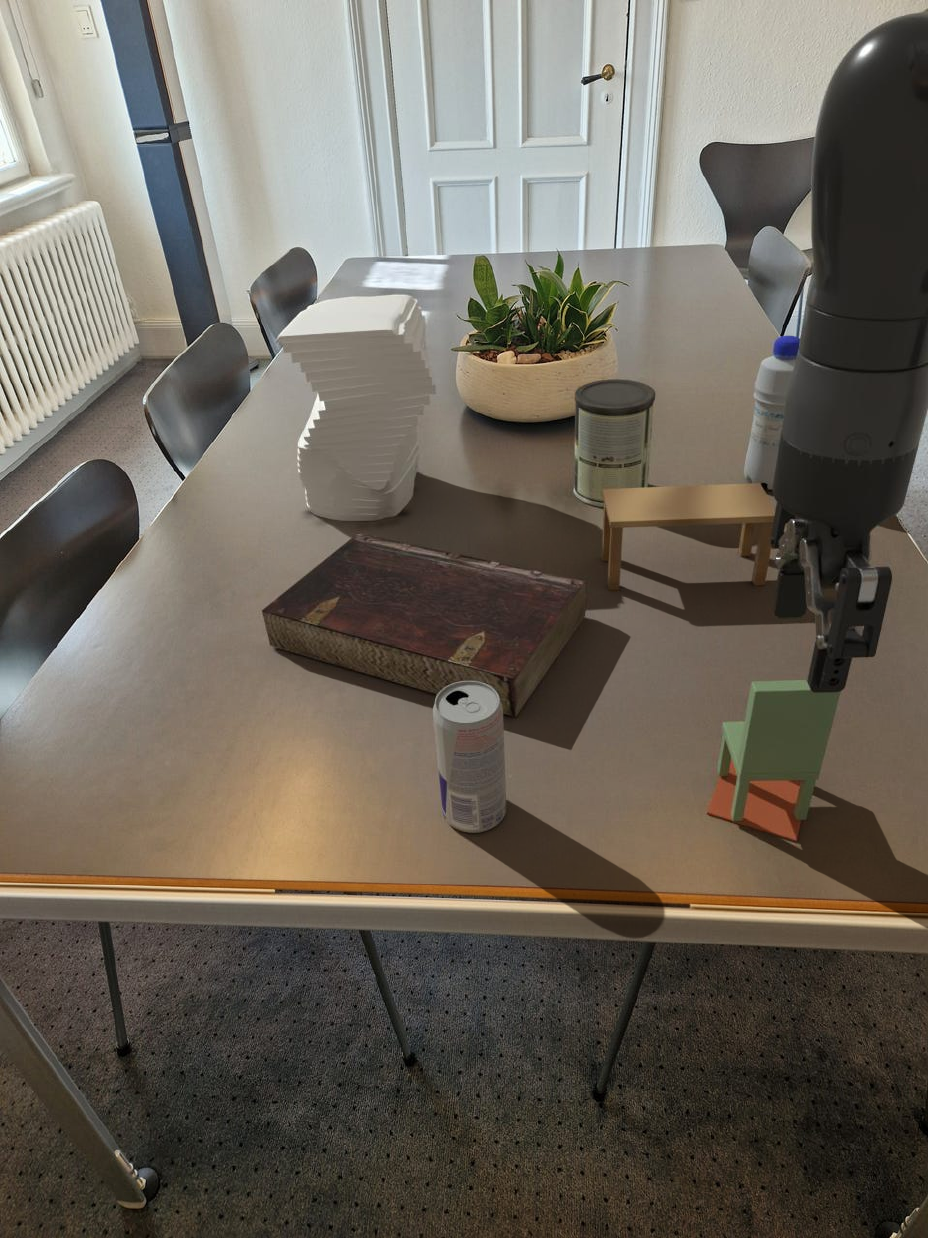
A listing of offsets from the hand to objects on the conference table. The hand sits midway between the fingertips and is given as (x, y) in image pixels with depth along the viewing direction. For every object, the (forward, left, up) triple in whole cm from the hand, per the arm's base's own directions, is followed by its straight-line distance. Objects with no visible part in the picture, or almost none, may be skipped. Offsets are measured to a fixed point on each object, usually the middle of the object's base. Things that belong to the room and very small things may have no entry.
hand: (805, 649), depth 59 cm
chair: (+1, -2, -17) cm, 17 cm away
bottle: (+12, -61, -17) cm, 65 cm away
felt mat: (+1, -2, -17) cm, 17 cm away
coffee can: (+31, -51, -17) cm, 62 cm away
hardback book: (+38, -12, -17) cm, 43 cm away
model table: (+17, -34, -17) cm, 42 cm away
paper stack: (+61, -40, -17) cm, 75 cm away
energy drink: (+22, +9, -17) cm, 30 cm away
